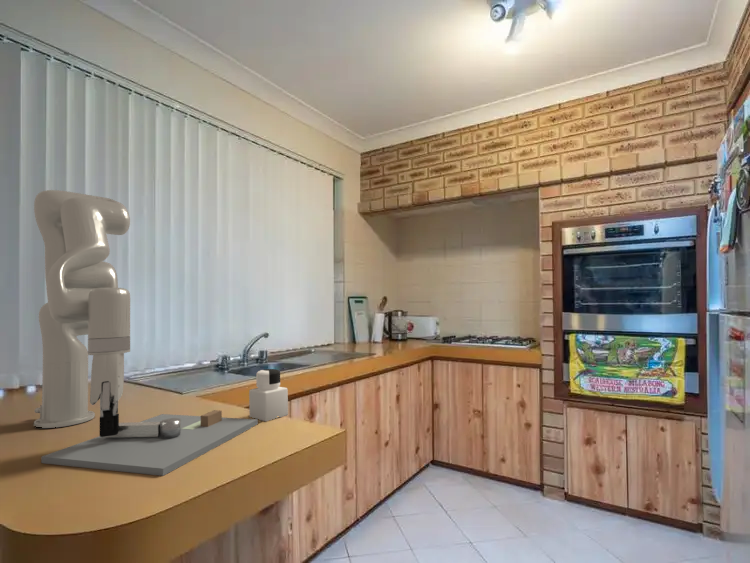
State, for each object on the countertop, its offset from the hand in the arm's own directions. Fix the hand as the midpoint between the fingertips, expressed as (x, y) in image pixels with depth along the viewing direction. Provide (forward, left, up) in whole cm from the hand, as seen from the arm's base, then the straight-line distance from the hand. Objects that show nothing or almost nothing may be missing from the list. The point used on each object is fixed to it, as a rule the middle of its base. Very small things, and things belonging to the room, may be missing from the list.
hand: (109, 434), depth 85 cm
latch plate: (+8, +6, -3) cm, 10 cm away
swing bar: (+4, +4, -1) cm, 6 cm away
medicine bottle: (+21, +28, -3) cm, 35 cm away
